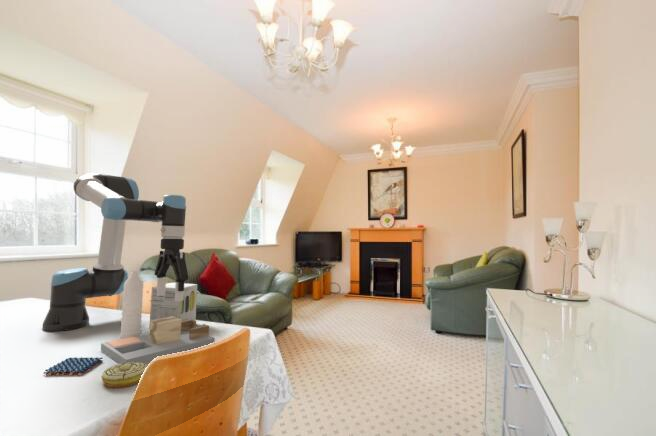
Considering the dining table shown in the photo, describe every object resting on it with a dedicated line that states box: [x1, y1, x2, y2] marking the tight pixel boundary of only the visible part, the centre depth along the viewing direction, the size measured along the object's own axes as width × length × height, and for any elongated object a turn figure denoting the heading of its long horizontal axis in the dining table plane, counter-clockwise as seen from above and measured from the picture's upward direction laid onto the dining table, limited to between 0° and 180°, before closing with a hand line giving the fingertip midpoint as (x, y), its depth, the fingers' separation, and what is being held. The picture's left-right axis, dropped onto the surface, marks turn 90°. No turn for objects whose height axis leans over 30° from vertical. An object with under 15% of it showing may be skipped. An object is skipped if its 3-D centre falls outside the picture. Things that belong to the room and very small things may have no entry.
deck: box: [100, 330, 216, 364], centre depth 114 cm, size 22×29×3 cm
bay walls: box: [181, 320, 210, 340], centre depth 122 cm, size 12×7×4 cm, turn 51°
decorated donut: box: [101, 362, 148, 388], centre depth 89 cm, size 10×11×4 cm
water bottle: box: [120, 270, 152, 339], centre depth 125 cm, size 9×6×25 cm
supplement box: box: [148, 282, 198, 330], centre depth 140 cm, size 13×13×18 cm
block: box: [149, 316, 181, 345], centre depth 114 cm, size 6×8×7 cm
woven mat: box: [43, 356, 104, 377], centre depth 95 cm, size 10×11×2 cm
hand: (169, 298), depth 116 cm, fingers open, 13 cm apart
